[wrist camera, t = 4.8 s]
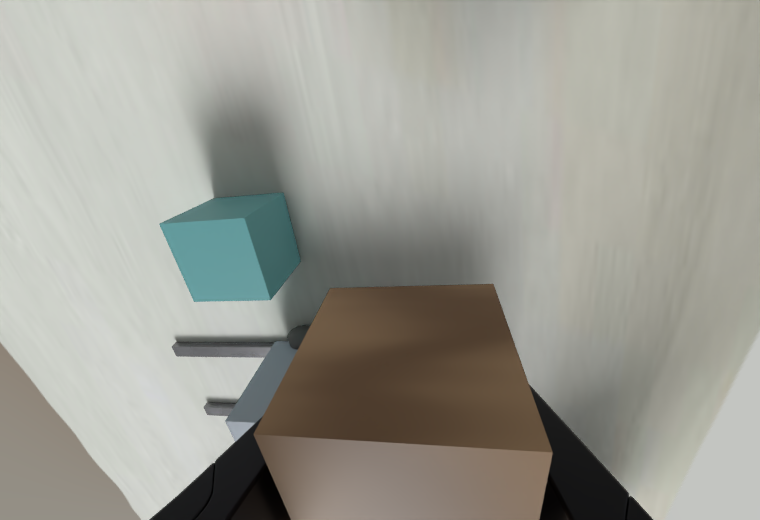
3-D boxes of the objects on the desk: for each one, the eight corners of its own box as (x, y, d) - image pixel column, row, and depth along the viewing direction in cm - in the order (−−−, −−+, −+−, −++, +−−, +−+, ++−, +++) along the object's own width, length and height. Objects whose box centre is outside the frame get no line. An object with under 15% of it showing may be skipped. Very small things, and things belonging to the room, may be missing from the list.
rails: (472, 343, 21) (473, 348, 21) (470, 421, 25) (471, 427, 24) (176, 342, 25) (171, 346, 25) (210, 410, 29) (207, 415, 28)
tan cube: (493, 284, 8) (552, 452, 4) (487, 402, 10) (524, 594, 6) (330, 288, 9) (253, 433, 5) (353, 397, 11) (310, 565, 7)
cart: (465, 324, 20) (481, 425, 14) (464, 438, 26) (476, 550, 19) (279, 325, 23) (221, 413, 16) (312, 430, 28) (278, 528, 21)
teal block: (283, 192, 18) (244, 218, 14) (301, 260, 20) (270, 300, 16) (214, 197, 19) (159, 223, 15) (238, 263, 21) (194, 301, 17)
